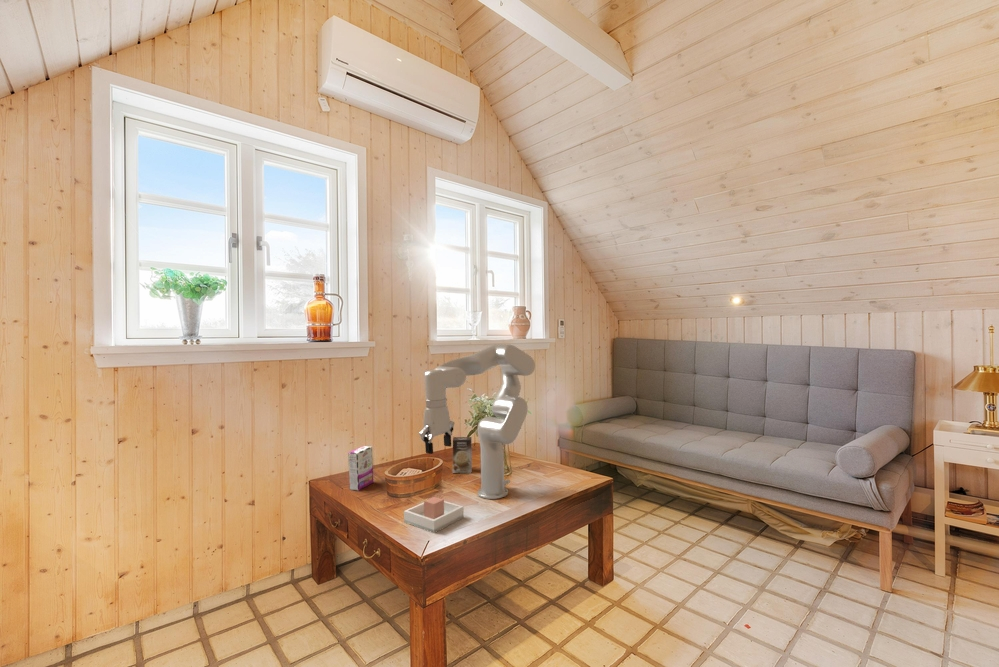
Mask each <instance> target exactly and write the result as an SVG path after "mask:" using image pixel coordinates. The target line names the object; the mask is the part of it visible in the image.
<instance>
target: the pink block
mask: <svg viewBox="0 0 999 667" xmlns="http://www.w3.org/2000/svg"><path fill="white" fill-rule="evenodd" d="M444 501H445V499H442V498H439V497H435V496H433V497H430V498H429V499H426V500H424V501H423V502H424V516H425V517H428V518H431V519H436V518H438V517H440V516H442V515H444Z"/></svg>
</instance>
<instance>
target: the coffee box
mask: <svg viewBox="0 0 999 667" xmlns="http://www.w3.org/2000/svg"><path fill="white" fill-rule="evenodd" d="M472 451H473V450H472V436H466V437H464V436H453V438H452V474H453V473H460V474H472V473H471V472H473V471H472V470H473V468H472V464H473V463H472V462H473V461H472V459H473V458H472V456H473V454H472V453H473V452H472Z"/></svg>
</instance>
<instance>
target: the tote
mask: <svg viewBox="0 0 999 667" xmlns="http://www.w3.org/2000/svg"><path fill="white" fill-rule="evenodd" d="M464 513H465V512H464V506H463V505H459V504H457V503H453V502H449V501H446V500H444V515H442V516H440V517H438V518H436V519H431V518H428V517H425V516H424V501H423V502H421V503H419V504H417V505H414V506H413V507H410V508H408V509H406V510H403V522H404V523H405V524H409V525H410V524H411V526H413V525H414V527H416V526H417V528H419V529H421V528H422V530H424V529H425V530H424V531H427V530H428V532H430V531H431V532H430V533H432V534H434V533H437V532H439V531H441V530H442V528H443V529H444V527H445V528H447V527H448V526H450V525H452V524H454V523H456V522H458V521H460V520H462V519H463V517H465V514H464ZM440 529H441V530H440ZM436 531H437V532H436Z"/></svg>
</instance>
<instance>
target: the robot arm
mask: <svg viewBox="0 0 999 667" xmlns="http://www.w3.org/2000/svg"><path fill="white" fill-rule="evenodd" d="M497 366H499V368H500V369H499V370H500V372H501V376H502V377H501V378H502V383H501V386H500V388H499V390H498V392H497V395H496V396H495V399H494V400H493V402H492V405H491V413H492V414H493V416H486V417H483V418H482V419H480V421H478V425H477V433H478V439H479V440H478V441H479V446H480V482H481V483H480V485H481V487H480V488H479V489H478V490H477V496H478V497H479V498H481V499H488V500H497V499H502V498H504V497H506V496H508V494H509V489H508V488H506V486H507V485H508V484H510V482H511V480H510V479H509V478H506V479H505V462H504V460H505V459H504V457H505V456H504V446H503V445H510V444H512V443H514V442H515V440H516V439H517V438H518V435H519V434H520V430H521V429H522V426H523V425H524V422H525V420H526V417H527V415H528V408H529V407H528V403H527V401H526V400H525V399H524V398H523V397H520V393H521V390H522V389H521V388H522V386H521V381H520V379H519V376H521V377H522V376H523V377H528V376H530V375H532V374H533V373H534V372H535V369H536V363H535V360H534V358H533V357H532V356H531V355H529V354H528V353H526V352H525V351H523V350H522V349H521V348H518V347H517V346H515V345H512V344H506V343H505V344H502V343H501V344H496V343H495V344H492V345H489V346H487V347H486V348H483V349H481V350H479V351H477V352H475V353H472V354H470V355H468V354H467V355H466V356H465V355H464V356H462V357H460V358H455V359H452V360H449V361H447V362H444V363H442V364H440V365H438V366H437V367H436V368H434V369H429V370H427V371H425V372H424V375H423V376H424V392H425V396H424V397H425V408H424V409H423V410H424V411H423V422H422V427H423V428H422V429H421V430H420V431H419V436H420V438H421V440H422V441H423V443H424V446H425V448H424V449H425V453H426V454H429V455H433V454H434V443H433V442H432V441H433V439H434V437H438V436H441V435H443V445H444V446H445V447H452V435H453V431H454V427H455V421H452V420H451V418H450V412H449V407H448V405H447V401H448V398H447V388H448V389H449V388H452V389H453V388H455V389H456V388H459V387H461V386H463V385H464V384H465V382H466V381H467V376H468V377H469V376H476V375H481V374H484V373H485V372H487V371H489V370H491V369H493V368H495V367H497ZM494 416H496V417H494Z"/></svg>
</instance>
